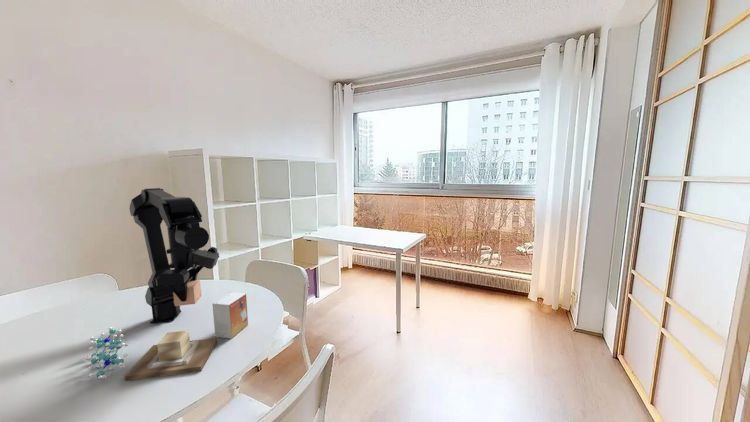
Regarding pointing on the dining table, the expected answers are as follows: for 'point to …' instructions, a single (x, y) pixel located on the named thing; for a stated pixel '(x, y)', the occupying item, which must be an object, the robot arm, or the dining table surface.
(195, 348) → the walnut board
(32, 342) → the dining table surface
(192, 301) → the terracotta block
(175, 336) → the maple block
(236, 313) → the small box
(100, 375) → the molecule model
